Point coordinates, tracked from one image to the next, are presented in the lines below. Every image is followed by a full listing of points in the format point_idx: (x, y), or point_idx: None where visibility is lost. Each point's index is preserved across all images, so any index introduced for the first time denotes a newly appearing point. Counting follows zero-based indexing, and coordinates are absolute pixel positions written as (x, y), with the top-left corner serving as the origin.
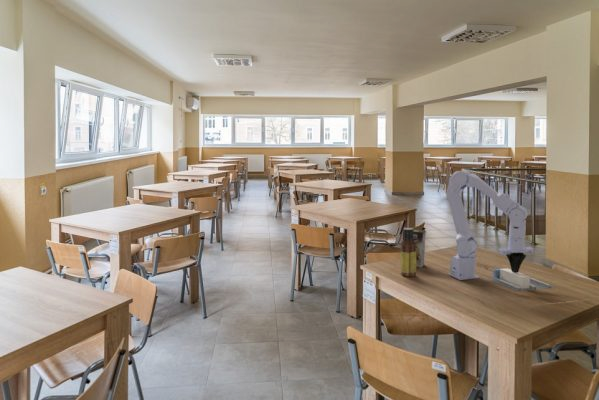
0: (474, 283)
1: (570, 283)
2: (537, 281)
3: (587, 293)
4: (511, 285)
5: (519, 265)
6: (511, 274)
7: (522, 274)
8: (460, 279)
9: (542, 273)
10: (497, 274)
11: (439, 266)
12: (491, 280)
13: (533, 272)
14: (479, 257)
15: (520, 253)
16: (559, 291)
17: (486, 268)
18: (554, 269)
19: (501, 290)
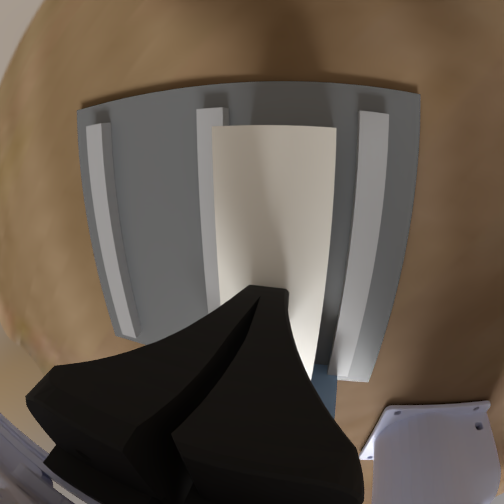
0: (487, 351)
1: (9, 183)
2: (111, 219)
3: (30, 40)
4: (383, 197)
5: (218, 323)
6: (323, 296)
7: (236, 225)
8: (488, 401)
9: (47, 325)
10: (316, 389)
11: None
12: (375, 360)
13: (69, 349)
14: None
15: (97, 486)
16: (99, 59)
17: None
18: (15, 330)
19: (480, 183)
